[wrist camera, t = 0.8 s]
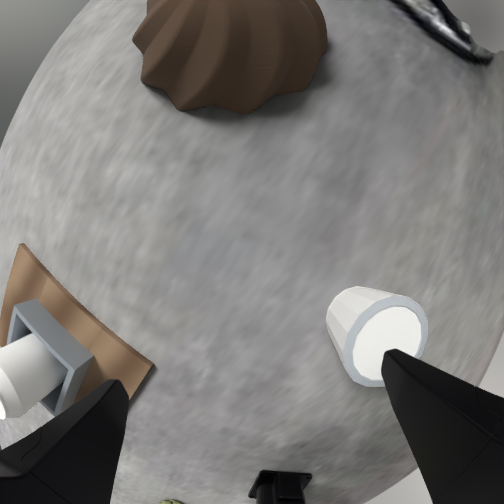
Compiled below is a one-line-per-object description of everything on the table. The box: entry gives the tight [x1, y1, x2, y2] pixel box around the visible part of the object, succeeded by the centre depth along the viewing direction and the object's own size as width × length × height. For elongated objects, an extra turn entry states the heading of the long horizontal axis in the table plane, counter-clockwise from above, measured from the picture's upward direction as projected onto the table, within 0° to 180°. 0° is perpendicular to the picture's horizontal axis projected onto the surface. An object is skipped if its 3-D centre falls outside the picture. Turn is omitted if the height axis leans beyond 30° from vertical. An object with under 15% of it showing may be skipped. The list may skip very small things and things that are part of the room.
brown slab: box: [0, 243, 153, 406], centre depth 23 cm, size 20×16×1 cm
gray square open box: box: [6, 298, 94, 417], centre depth 21 cm, size 9×9×4 cm
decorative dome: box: [132, 0, 327, 114], centre depth 16 cm, size 19×20×10 cm
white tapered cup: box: [326, 286, 428, 387], centre depth 19 cm, size 7×7×7 cm
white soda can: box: [0, 333, 68, 420], centre depth 17 cm, size 6×6×12 cm
